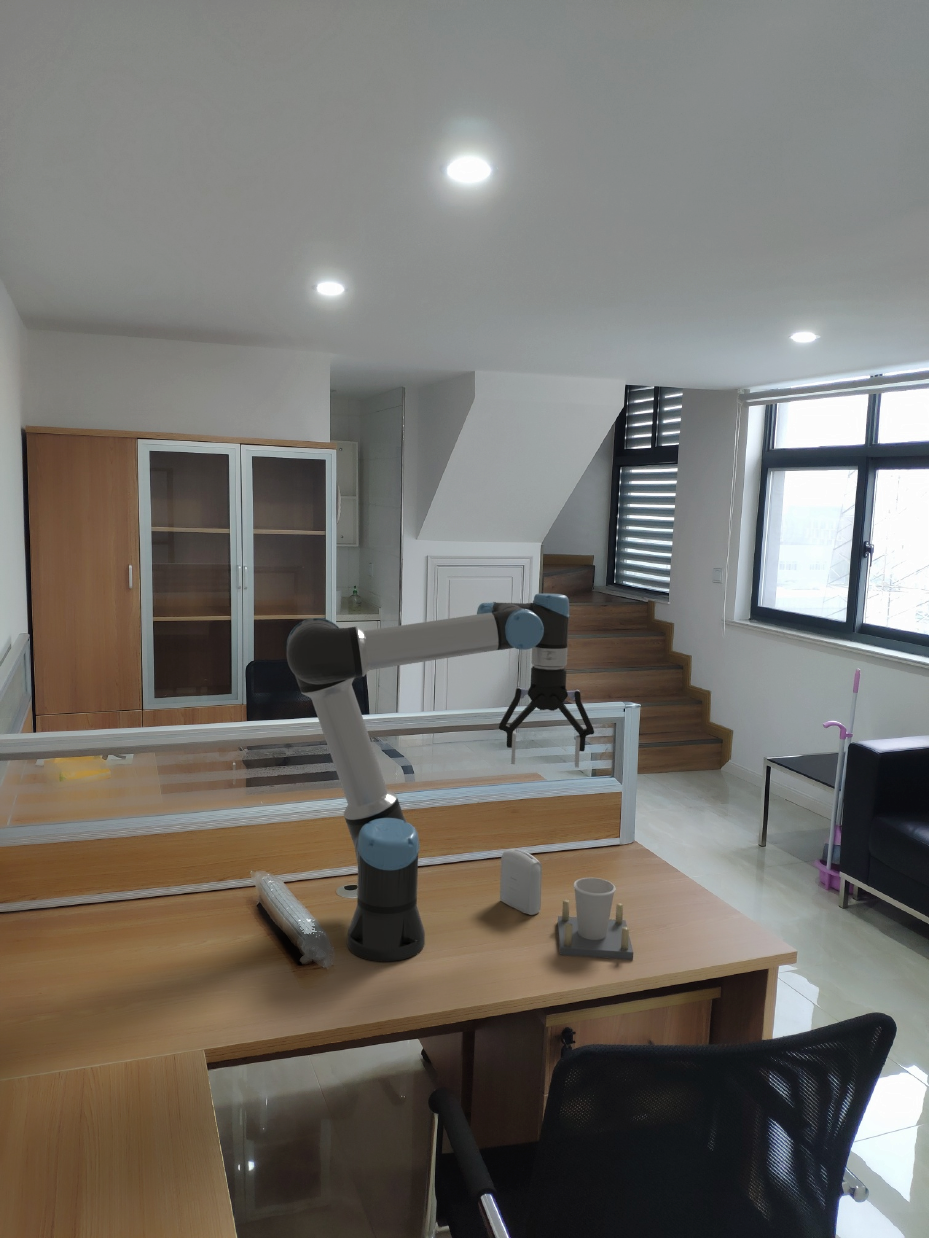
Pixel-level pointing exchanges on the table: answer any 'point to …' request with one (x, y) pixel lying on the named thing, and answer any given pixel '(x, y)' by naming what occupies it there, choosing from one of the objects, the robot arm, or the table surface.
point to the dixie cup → (593, 906)
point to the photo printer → (521, 881)
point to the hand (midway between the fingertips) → (544, 764)
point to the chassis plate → (607, 947)
